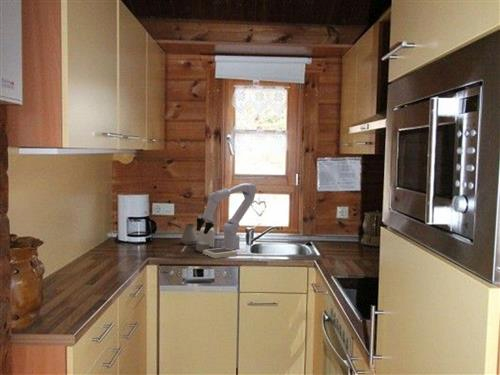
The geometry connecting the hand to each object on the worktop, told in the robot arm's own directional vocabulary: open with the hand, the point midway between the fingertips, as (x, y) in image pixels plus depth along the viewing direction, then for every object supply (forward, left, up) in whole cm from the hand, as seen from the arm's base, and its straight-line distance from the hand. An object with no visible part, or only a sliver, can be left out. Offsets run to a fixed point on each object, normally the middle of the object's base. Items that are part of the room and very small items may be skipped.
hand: (201, 232), depth 278 cm
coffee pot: (0, -23, -12) cm, 26 cm away
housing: (-1, 0, -12) cm, 12 cm away
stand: (-4, +15, -11) cm, 19 cm away
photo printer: (-10, -11, -12) cm, 19 cm away
